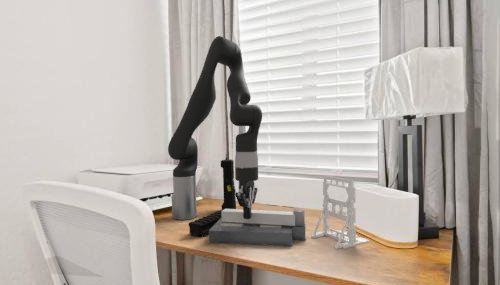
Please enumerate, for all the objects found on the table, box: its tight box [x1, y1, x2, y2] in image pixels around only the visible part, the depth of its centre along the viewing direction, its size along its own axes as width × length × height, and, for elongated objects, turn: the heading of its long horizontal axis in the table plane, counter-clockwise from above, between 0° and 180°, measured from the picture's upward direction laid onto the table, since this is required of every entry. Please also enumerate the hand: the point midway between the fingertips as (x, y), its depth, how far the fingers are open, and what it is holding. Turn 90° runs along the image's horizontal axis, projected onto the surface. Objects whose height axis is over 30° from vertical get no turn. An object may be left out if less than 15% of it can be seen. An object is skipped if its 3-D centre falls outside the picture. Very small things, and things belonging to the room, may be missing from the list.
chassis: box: [208, 217, 306, 247], centre depth 110 cm, size 30×16×4 cm, turn 81°
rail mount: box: [187, 208, 224, 238], centre depth 120 cm, size 21×6×5 cm, turn 152°
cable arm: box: [220, 208, 306, 226], centre depth 111 cm, size 28×4×4 cm, turn 74°
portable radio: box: [220, 153, 237, 210], centre depth 145 cm, size 8×6×25 cm
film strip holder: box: [310, 174, 370, 250], centre depth 105 cm, size 14×14×20 cm
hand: (247, 218), depth 109 cm, fingers closed
